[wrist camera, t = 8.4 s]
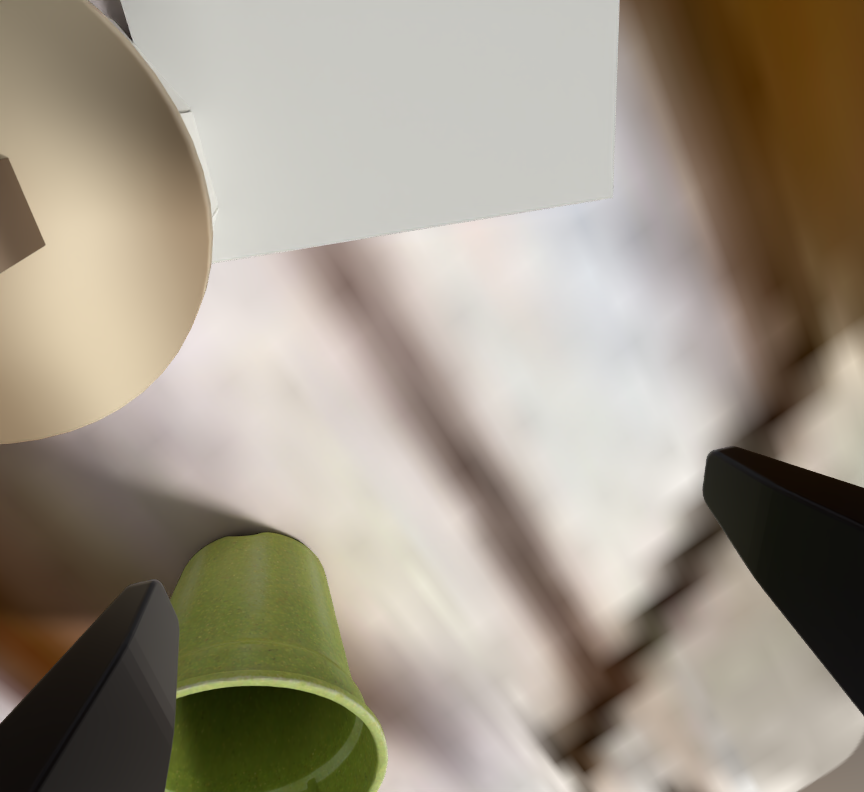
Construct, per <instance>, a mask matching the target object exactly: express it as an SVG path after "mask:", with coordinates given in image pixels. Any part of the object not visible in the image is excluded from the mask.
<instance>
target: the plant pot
mask: <svg viewBox="0 0 864 792" xmlns="http://www.w3.org/2000/svg"><path fill="white" fill-rule="evenodd" d="M170 602H171V604H172V606H173V608H174V610H175V613H176V615H177V618H178V622H179V652H178V672H177V693H176V713H175V727H174V736H173V743H172V750H171V757H170V763H169V769H168V775H167V781H166V787H165V792H377V791H378V789H379V787H380V785H381V783H382V781H383V779H384V777H385V773H386V768H387V762H388V752H387V744H386V740H385V736H384V733H383V730H382V727H381V725H380V723H379V721H378V719H377V718H376V716H375V715H374V714H373V712H372V711H371V710H370V709H369V708H368V707H367V706H366V705H365V702H364V699H363V697H362V695H361V693H360V691H359V689H358V687H357V686H356V684H355V683H354V682H353V680H352V678H351V675H350V671H349V667H348V663H347V659H346V655H345V651H344V647H343V644H342V640H341V636H340V632H339V627H338V624H337V620H336V616H335V612H334V607H333V603H332V599H331V595H330V591H329V587H328V583H327V579H326V575H325V572H324V569H323V567H322V565H321V563H320V561H319V559H318V558H317V557H316V555H315V554H314V553H313V552H312V551H311V550H310V549H309V548H307V547H306V546H305V545H304V544H302V543H300V542H298V541H296V540H295V539H292V538H290V537H287V536H284V535H280V534H276V533H270V532H263V533H259V534H255V535H249V536H235V537H233V536H227V537H223V538H221V539H218V540H216V541H214V542H212V543H210V544H209V545H207V546H205V547H204V548H202V549H201V550H200V551H199V552H197V553H196V554H195V555H194V556H193V557H192V558H191V560H190V561H189V562H188V564H187V565H186V567H185V568H184V570H183V572H182V574H181V577H180V579H179V581H178V583H177V585H176V587H175V589H174V592H173V594H172V596H171V599H170Z"/></svg>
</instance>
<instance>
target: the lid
mask: <svg viewBox="0 0 864 792" xmlns="http://www.w3.org/2000/svg"><path fill="white" fill-rule="evenodd" d="M212 247H213V225H212V213H211V203H210V198H209V194H208V189H207V184H206V180H205V175H204V171H203V168H202V165H201V163H200V160H199V157H198V154H197V151H196V148H195V146H194V143H193V140H192V138H191V136H190V134H189V132H188V130H187V127H186V125H185V123H184V121H183V119H182V117H181V115H180V113H179V111H178V109H177V107H176V105H175V104H174V102H173V101H172V99H171V97H170V96H169V94H168V93H167V91H166V90H165V88H164V86H163V85H162V83H161V82H160V80H159V78H158V77H157V75H156V74H155V72H154V71H153V70H152V69H151V67H150V66H149V65H148V64H147V62H146V61H145V60H144V59H143V57H142V56H141V55H140V53H139V52H138V51H137V50H136V48H135V47H134V46H133V45H132V43H131V42H130V41H129V40H128V39H127V38H126V37H125V36H124V35H123V34H122V33H121V32H120V31H119V30H118V29H117V28H116V27H115V26H114V25H113V24H112V23H111V21H110V20H109V19H108V18H107V17H106V16H105V15H104V14H103V13H102V12H101V11H100V10H99V9H97V8H96V7H95V6H94V5H93V4H91V3H90V2H89V1H88V0H0V444H11V443H18V442H25V441H33V440H40V439H44V438H48V437H52V436H56V435H59V434H63V433H67V432H71V431H73V430H76V429H78V428H81V427H84V426H86V425H89V424H91V423H94V422H96V421H98V420H100V419H102V418H104V417H106V416H108V415H109V414H111V413H113V412H115V411H117V410H119V409H121V408H122V407H123V406H125V405H126V404H128V403H129V402H130V401H132V400H133V399H134V398H136V397H137V396H139V395H140V394H141V393H143V392H144V391H145V390H146V389H147V388H148V387H149V386H150V385H151V384H152V383H153V382H154V381H155V380H156V379H157V378H158V377H159V376H160V375H161V374H162V373H163V372H164V370H165V369H166V368H167V366H168V365H169V364H170V362H171V361H172V360H173V359H174V357H175V356H176V355H177V353H178V352H179V350H180V348H181V346H182V344H183V342H184V341H185V339H186V337H187V335H188V333H189V331H190V330H191V327H192V325H193V323H194V320H195V318H196V316H197V313H198V311H199V308H200V305H201V302H202V299H203V297H204V294H205V291H206V288H207V283H208V278H209V273H210V268H211V263H212Z"/></svg>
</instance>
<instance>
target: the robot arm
mask: <svg viewBox="0 0 864 792" xmlns="http://www.w3.org/2000/svg"><path fill="white" fill-rule="evenodd" d="M703 497H704V500H705V502H706V504H707V506H708V507H709V509H710V510H711V512H712V514H713V515H714V517H715V518H716V520H717V521H718V523H719V524H720V526H721V528H722V529H723V531H724V532H725V534H726V535H727V537H728V538H729V540H730V541H731V543H732V545H733V546H734V548H735V549H736V551H737V552H738V554H739V555H740V557H741V559H742V560H743V562H744V563H745V565H746V566H747V568H748V569H749V571H750V572H751V574H752V575H753V576H754V578H755V579H756V581H757V582H758V583H759V585H760V586H761V587H762V588H763V590H764V591H765V592H766V594H767V595H768V596H769V597H770V599H771V600H772V601H773V602H774V604H775V605H776V606H777V607H778V609H779V610H780V611H781V612H782V614H783V615H784V616H785V618H786V619H787V620H788V621H789V623H790V624H791V625H792V626H793V628H794V629H795V630H796V631H797V633H798V634H799V635H800V636H801V638H802V639H803V640H804V641H805V643H806V644H807V645H808V646H809V648H810V649H811V650H812V651H813V653H814V654H815V655H816V657H817V658H818V659H819V660H820V662H821V663H822V664H823V665H824V667H825V668H826V669H827V670H828V672H829V673H830V674H831V675H832V677H833V678H834V679H835V680H836V682H837V683H838V684H839V685H840V687H841V688H842V689H843V690H844V692H845V693H846V694H847V695H848V697H849V698H850V699H851V701H852V702H853V703H854V704H855V706H856V707H857V708H858V709H859V711H860V712H861V713H862V714H863V716H864V488H862V487H859V486H856V485H853V484H850V483H847V482H844V481H841V480H838V479H835V478H832V477H828V476H825V475H822V474H819V473H816V472H813V471H810V470H807V469H804V468H801V467H798V466H794V465H791V464H788V463H785V462H782V461H779V460H776V459H773V458H770V457H767V456H764V455H760V454H757V453H754V452H751V451H748V450H745V449H742V448H739V447H735V446H730V447H725V448H721V449H716V450H713V451H711V452H710V453H709V454H708V456H707V459H706V467H705V474H704V481H703ZM178 652H179V622H178V618H177V615H176V613H175V610H174V608H173V606H172V604H171V602H170V600H169V597H168V595H167V593H166V591H165V589H164V587H163V585H162V583H161V582H160V581H159V580H156V579H152V580H148V581H143V582H139V583H135V584H132V585H129V586H128V587H127V588H125V589H124V590H123V591H122V593H121V594H120V595H119V596H118V597H117V598H116V599H115V600H114V601H113V602H112V603H111V604H110V606H109V607H108V608H107V609H106V610H105V611H104V612H103V613H102V614H101V615H100V616H99V617H98V619H97V620H96V621H95V622H94V623H93V624H92V625H91V626H90V627H89V628H88V629H87V630H86V631H85V633H84V634H83V635H82V636H81V637H80V638H79V639H78V640H77V641H76V642H75V643H74V644H73V646H72V647H71V648H70V649H69V650H68V651H67V652H66V653H65V654H64V655H63V656H62V657H61V659H60V660H59V661H58V662H57V663H56V664H55V665H54V666H53V667H52V668H51V669H50V670H49V672H48V673H47V674H46V675H45V676H44V677H43V678H42V679H41V680H40V681H39V682H38V683H37V685H36V686H35V687H34V688H33V689H32V690H31V691H30V692H29V693H28V694H27V695H26V696H25V698H24V699H23V700H22V701H21V702H20V703H19V704H18V705H17V706H16V707H15V708H14V709H13V710H12V712H11V713H10V714H9V715H8V716H7V717H6V718H5V719H4V720H3V721H2V722H1V723H0V792H165V787H166V781H167V775H168V769H169V763H170V757H171V750H172V743H173V736H174V727H175V713H176V693H177V672H178Z"/></svg>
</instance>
